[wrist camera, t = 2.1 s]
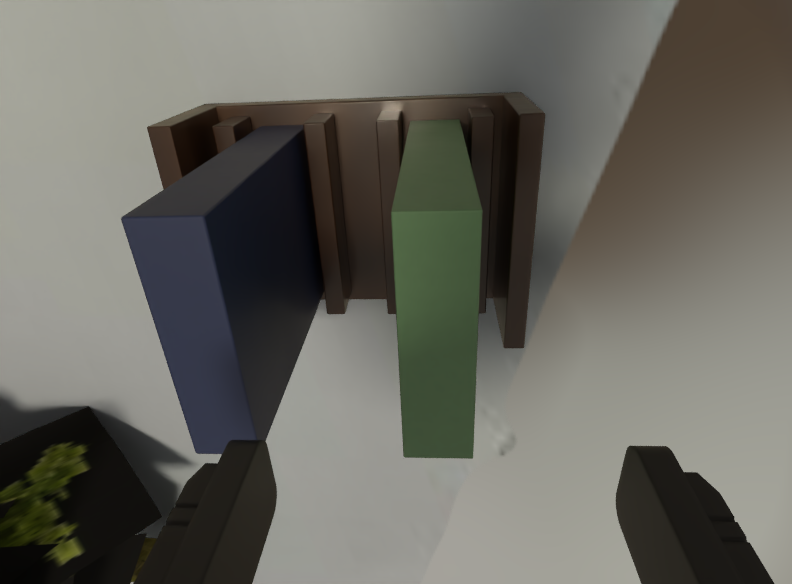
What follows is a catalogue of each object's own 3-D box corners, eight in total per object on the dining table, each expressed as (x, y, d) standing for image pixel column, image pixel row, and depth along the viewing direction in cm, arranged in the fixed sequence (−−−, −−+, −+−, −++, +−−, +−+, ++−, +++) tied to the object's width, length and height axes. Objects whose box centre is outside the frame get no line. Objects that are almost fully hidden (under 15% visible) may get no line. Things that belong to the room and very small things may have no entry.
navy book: (307, 124, 25) (203, 215, 14) (327, 285, 29) (260, 455, 18) (259, 126, 25) (119, 217, 14) (286, 285, 30) (195, 454, 18)
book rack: (522, 91, 25) (545, 112, 20) (508, 290, 30) (524, 348, 25) (204, 104, 26) (146, 126, 21) (244, 292, 31) (206, 348, 26)
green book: (459, 119, 25) (482, 209, 13) (457, 283, 29) (473, 459, 18) (410, 120, 25) (391, 211, 13) (415, 284, 29) (403, 457, 18)
